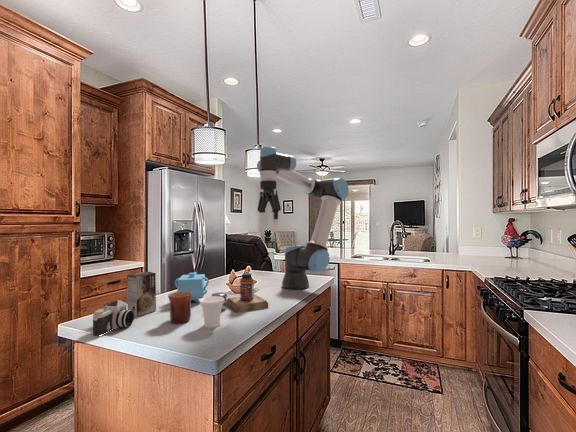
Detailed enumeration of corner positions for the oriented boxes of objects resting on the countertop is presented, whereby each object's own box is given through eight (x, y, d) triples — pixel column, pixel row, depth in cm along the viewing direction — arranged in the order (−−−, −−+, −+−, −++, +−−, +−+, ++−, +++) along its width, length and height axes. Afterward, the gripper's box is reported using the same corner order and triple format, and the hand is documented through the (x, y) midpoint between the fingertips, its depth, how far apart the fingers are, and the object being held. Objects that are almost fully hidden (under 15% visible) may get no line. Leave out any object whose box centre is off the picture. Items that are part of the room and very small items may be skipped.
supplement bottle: (239, 301, 134) (238, 275, 134) (240, 297, 140) (240, 272, 140) (252, 301, 134) (252, 274, 134) (254, 297, 140) (254, 272, 140)
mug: (193, 323, 115) (193, 295, 115) (168, 326, 112) (168, 298, 112) (190, 314, 126) (190, 288, 126) (167, 316, 123) (167, 290, 123)
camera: (113, 338, 102) (112, 307, 102) (87, 338, 102) (87, 307, 102) (139, 322, 118) (139, 295, 117) (117, 321, 118) (117, 295, 118)
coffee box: (146, 308, 134) (146, 271, 134) (156, 310, 131) (156, 272, 131) (126, 314, 126) (126, 274, 126) (136, 317, 123) (136, 276, 123)
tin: (224, 306, 136) (224, 291, 136) (229, 310, 131) (229, 295, 131) (209, 309, 133) (209, 293, 133) (214, 313, 128) (213, 296, 128)
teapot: (207, 303, 142) (207, 274, 142) (171, 304, 140) (171, 275, 140) (211, 293, 160) (211, 268, 160) (179, 294, 158) (179, 269, 158)
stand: (255, 300, 146) (255, 294, 146) (268, 308, 134) (268, 301, 134) (226, 304, 140) (226, 297, 140) (237, 313, 127) (237, 305, 127)
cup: (202, 321, 117) (202, 295, 117) (227, 322, 117) (227, 295, 117) (194, 330, 108) (194, 301, 108) (221, 330, 108) (221, 301, 108)
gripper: (250, 182, 154) (250, 225, 154) (272, 177, 133) (273, 227, 133) (264, 183, 158) (264, 225, 158) (288, 178, 136) (288, 226, 136)
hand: (268, 226), depth 145 cm, fingers open, 13 cm apart
